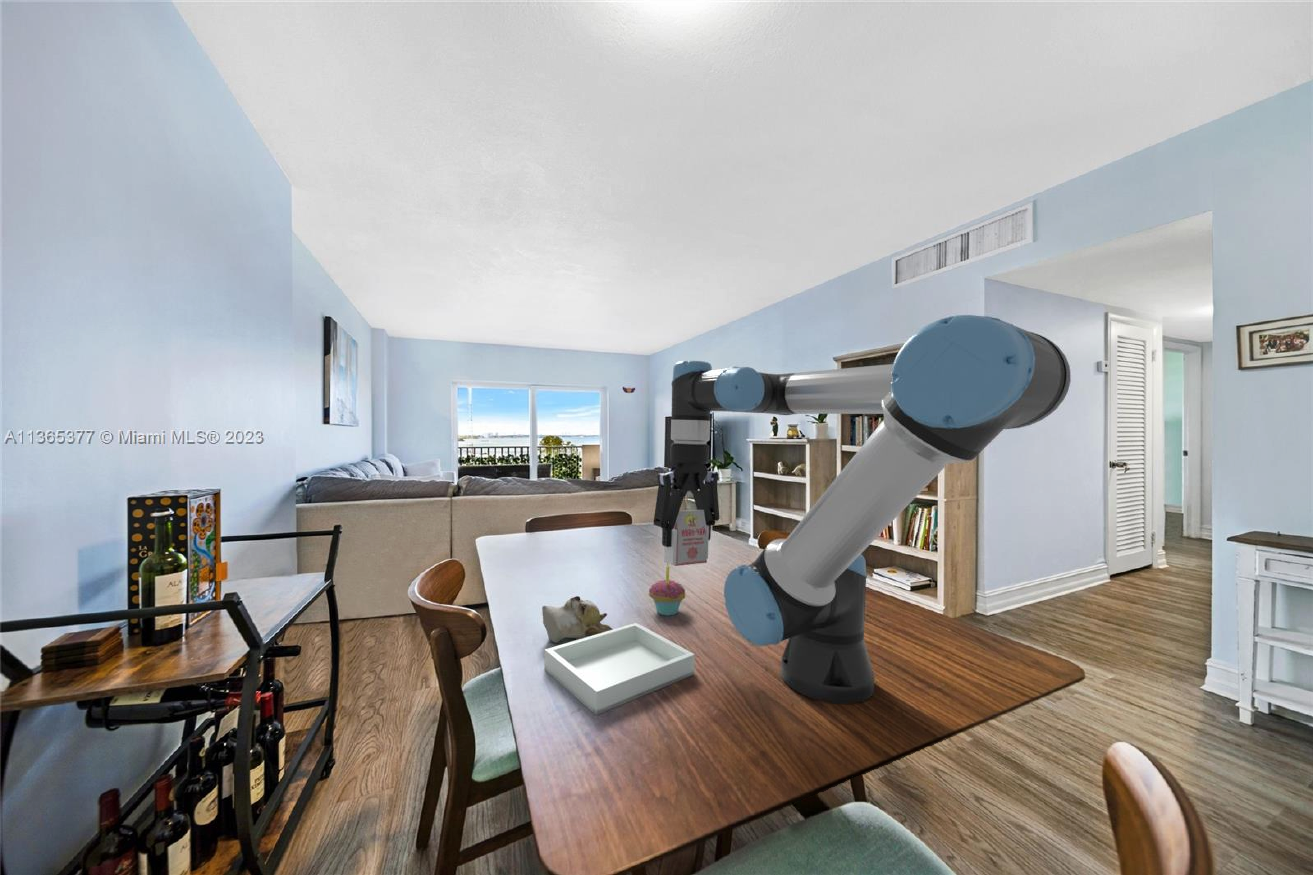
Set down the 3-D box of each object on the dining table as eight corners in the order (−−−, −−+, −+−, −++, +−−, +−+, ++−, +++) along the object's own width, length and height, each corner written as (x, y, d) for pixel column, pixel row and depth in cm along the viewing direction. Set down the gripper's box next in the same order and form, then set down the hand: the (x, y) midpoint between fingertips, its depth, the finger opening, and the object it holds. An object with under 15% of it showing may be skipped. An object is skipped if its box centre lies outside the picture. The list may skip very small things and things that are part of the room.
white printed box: (667, 560, 94) (668, 509, 94) (697, 557, 97) (698, 508, 96) (675, 566, 91) (676, 513, 90) (706, 562, 93) (708, 511, 93)
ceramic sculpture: (539, 589, 100) (608, 586, 106) (535, 631, 100) (605, 625, 106) (547, 607, 90) (623, 603, 96) (543, 654, 90) (619, 647, 96)
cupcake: (685, 619, 108) (687, 566, 108) (648, 618, 109) (649, 565, 108) (684, 605, 117) (685, 556, 117) (649, 604, 117) (650, 555, 117)
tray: (694, 674, 84) (694, 654, 84) (596, 715, 71) (596, 691, 71) (635, 640, 97) (636, 622, 97) (544, 669, 84) (544, 649, 84)
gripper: (714, 441, 102) (711, 549, 103) (635, 441, 90) (632, 563, 91) (740, 443, 96) (737, 557, 97) (659, 443, 84) (656, 573, 85)
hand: (686, 559), depth 94 cm, fingers closed on white printed box, 7 cm apart
